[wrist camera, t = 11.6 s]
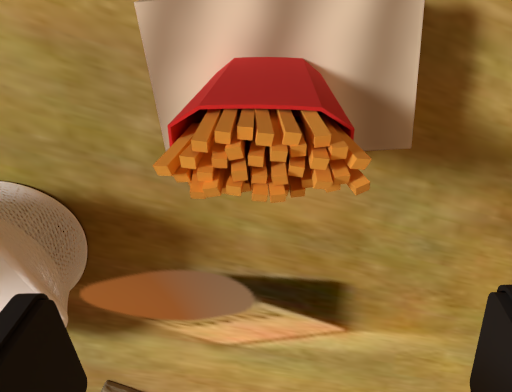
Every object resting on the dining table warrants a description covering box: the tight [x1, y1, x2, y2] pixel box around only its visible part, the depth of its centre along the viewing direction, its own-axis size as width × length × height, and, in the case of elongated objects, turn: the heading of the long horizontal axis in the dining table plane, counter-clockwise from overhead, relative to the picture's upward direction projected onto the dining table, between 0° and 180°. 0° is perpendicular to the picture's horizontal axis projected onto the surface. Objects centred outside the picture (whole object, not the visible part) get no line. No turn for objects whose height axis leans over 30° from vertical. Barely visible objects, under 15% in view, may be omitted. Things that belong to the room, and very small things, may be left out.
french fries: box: [153, 57, 372, 203], centre depth 22 cm, size 8×4×12 cm, turn 90°
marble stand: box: [134, 0, 425, 151], centre depth 29 cm, size 16×10×6 cm, turn 95°
